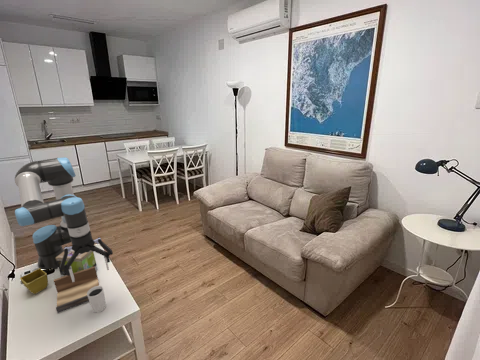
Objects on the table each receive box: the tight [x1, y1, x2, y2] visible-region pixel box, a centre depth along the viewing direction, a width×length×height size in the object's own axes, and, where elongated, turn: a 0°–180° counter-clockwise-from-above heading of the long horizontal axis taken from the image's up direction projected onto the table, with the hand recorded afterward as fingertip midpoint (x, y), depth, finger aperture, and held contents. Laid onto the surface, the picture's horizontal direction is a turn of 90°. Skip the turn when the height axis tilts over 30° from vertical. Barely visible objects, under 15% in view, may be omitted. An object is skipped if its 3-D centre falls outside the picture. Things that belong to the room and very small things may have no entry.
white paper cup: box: [87, 285, 107, 314], centre depth 117 cm, size 7×7×10 cm
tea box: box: [56, 250, 98, 277], centre depth 138 cm, size 15×10×15 cm
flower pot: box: [19, 268, 49, 295], centre depth 128 cm, size 9×9×9 cm
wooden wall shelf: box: [53, 266, 100, 314], centre depth 124 cm, size 14×18×9 cm
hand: (91, 274), depth 112 cm, fingers open, 13 cm apart
